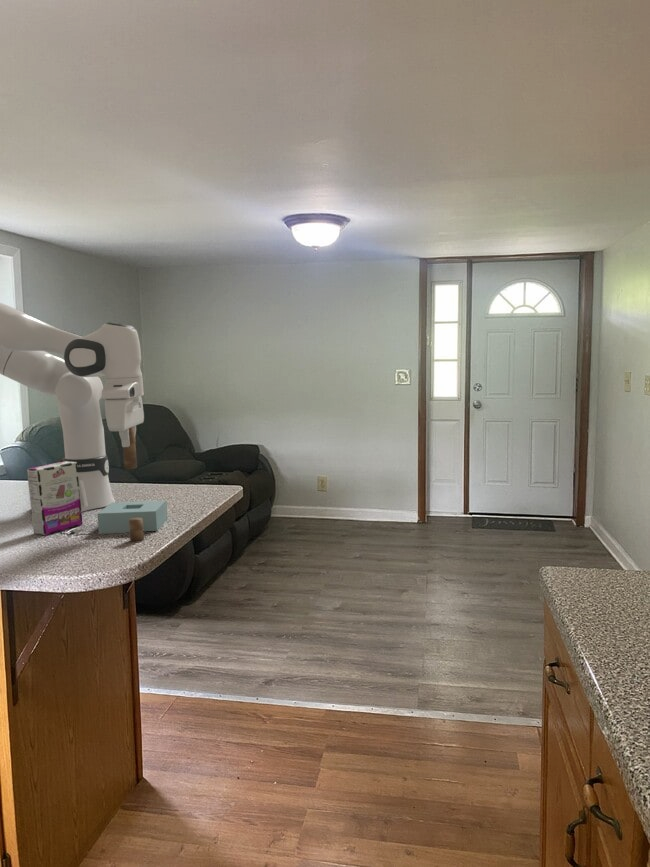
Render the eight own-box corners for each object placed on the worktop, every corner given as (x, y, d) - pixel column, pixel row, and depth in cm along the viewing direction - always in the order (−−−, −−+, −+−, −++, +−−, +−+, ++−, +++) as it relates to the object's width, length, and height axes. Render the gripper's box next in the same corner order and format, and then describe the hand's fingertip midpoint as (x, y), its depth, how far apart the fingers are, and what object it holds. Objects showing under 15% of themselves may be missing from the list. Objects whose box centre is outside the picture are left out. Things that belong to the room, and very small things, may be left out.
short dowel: (129, 542, 150) (127, 520, 149) (132, 538, 153) (130, 517, 152) (142, 541, 150) (140, 520, 149) (145, 538, 153) (143, 517, 152)
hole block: (98, 533, 158) (97, 513, 157) (113, 521, 170) (111, 502, 169) (157, 531, 158) (155, 511, 158) (167, 519, 170) (166, 500, 170)
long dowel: (123, 469, 161) (119, 420, 159) (126, 466, 164) (122, 419, 162) (135, 468, 161) (131, 420, 160) (138, 466, 164) (134, 418, 162)
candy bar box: (70, 523, 170) (65, 460, 168) (83, 525, 167) (78, 461, 165) (31, 533, 160) (25, 467, 158) (44, 536, 158) (38, 469, 156)
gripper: (123, 387, 170) (127, 440, 172) (98, 392, 150) (103, 452, 152) (147, 386, 170) (151, 439, 172) (126, 391, 150) (130, 450, 152)
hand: (128, 445), depth 162 cm, fingers closed on long dowel, 3 cm apart
